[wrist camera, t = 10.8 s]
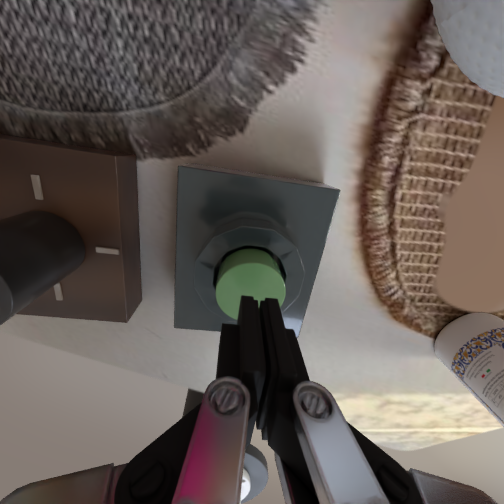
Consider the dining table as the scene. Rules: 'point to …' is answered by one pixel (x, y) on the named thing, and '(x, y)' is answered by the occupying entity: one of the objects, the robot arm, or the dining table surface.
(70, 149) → the lock base
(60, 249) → the dial
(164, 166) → the dining table surface
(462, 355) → the bath foam
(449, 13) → the cereal bowl
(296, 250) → the grey button housing
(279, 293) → the green round button
